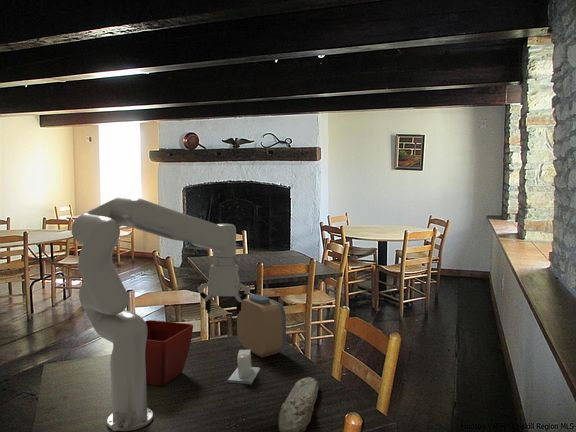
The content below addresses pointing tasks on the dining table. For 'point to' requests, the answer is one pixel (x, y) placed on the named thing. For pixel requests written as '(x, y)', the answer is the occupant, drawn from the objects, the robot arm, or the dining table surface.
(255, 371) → the hard drive
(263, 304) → the alarm clock
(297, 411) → the long grey stone
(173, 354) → the plant pot
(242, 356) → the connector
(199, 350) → the dining table surface
